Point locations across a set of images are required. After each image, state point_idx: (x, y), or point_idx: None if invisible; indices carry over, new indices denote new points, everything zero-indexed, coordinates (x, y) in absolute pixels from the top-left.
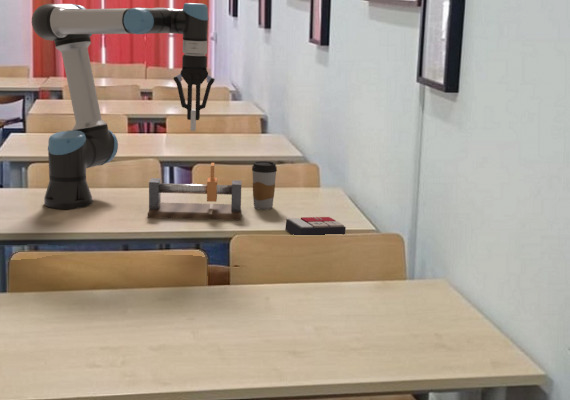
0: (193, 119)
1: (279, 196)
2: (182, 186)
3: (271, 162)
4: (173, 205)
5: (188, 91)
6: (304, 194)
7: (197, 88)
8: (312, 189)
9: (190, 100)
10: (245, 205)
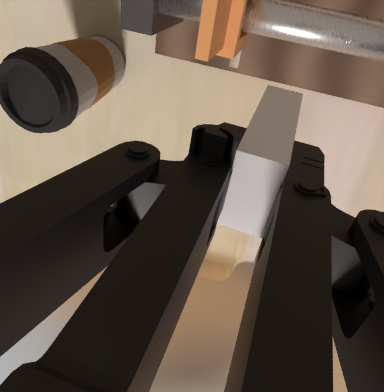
0: (271, 118)
1: (70, 156)
2: (346, 19)
3: (9, 110)
4: (356, 64)
5: (313, 389)
6: (24, 162)
7: (88, 382)
8: (14, 195)
9: (284, 243)
10: (145, 87)
